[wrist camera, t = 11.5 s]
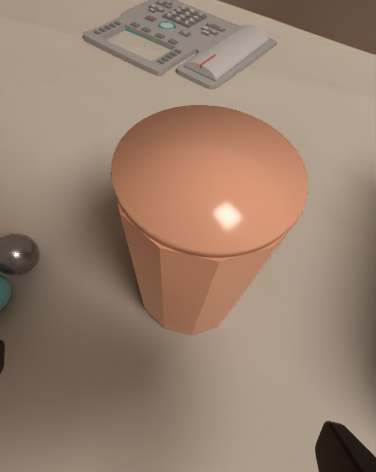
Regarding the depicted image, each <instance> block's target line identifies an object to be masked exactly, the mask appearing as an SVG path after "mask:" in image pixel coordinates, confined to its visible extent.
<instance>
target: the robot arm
mask: <svg viewBox="0 0 376 472" xmlns="http://www.w3.org/2000/svg"><path fill="white" fill-rule="evenodd" d="M4 354H5V343H4V341H2V340H0V373H1V372H2V370H3V367H4ZM315 453H316V459H317V464H318V469H319V472H376V457H375V456H374V455H373V454H372V453H371V452H370V451H369V450H368V449H367V448H366V447H365V446H364V445H363V444H362V443H361V442H360V441H359V440H358V439H357V438H356V437H355V436H354V435H353V434H352V433H351V432H350V431H349V430H348V429H347V428H346V427H345V426H344V425H342V424H340V423H336V422H331V421H326V422H325V423H324V425H323V427H322V430H321V432H320V435H319V437H318V440H317V442H316V447H315Z"/></svg>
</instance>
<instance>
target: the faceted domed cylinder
mask: <svg viewBox="0 0 376 472" xmlns="http://www.w3.org/2000/svg"><path fill="white" fill-rule="evenodd" d="M110 173H111V177H112V182H113V186H114V190H115V194H116V199H117V203H118V207H119V212H120V216H121V220H122V224H123V228H124V231H125V235H126V239H127V243H128V247H129V251H130V254H131V258H132V262H133V266H134V270H135V274H136V277H137V281H138V285H139V289H140V293H141V297H142V300H143V304H144V308H145V310H146V311H147V312H148V313H149V314H150V315H151V316H152V317H153V318H154V319H155V320H156V321H157V322H158V323H159V324H160V325H161V326H162V327H163V328H165V329H169V330H173V331H177V332H181V333H185V334H189V335H193V334H196V333H199V332H202V331H205V330H208V329H211V328H215V327H218V325H219V324H220V323H221V322H222V320H223V319H224V318H225V317H226V316H227V314H228V313H229V312H230V311H231V310H232V308H233V307H234V306H235V305H236V303H237V302H238V301H239V299H240V298H241V297H242V295H243V294H244V292H245V291H246V290H247V288H248V287H249V286H250V284H251V283H252V282H253V280H254V279H255V278H256V276H257V275H258V273H259V272H260V271H261V269H262V268H263V267H264V265H265V264H266V263H267V261H268V260H269V259H270V257H271V256H272V254H273V253H274V252H275V250H276V249H277V248H278V246H279V245H280V244H281V242H282V241H283V240H284V238H285V237H286V235H287V234H288V233H289V231H290V230H291V229H292V227H293V226H294V225H295V223H296V222H297V220H298V219H299V218H300V216H301V215H302V214H303V207H304V205H305V202H306V199H307V195H308V177H307V172H306V169H305V166H304V163H303V161H302V159H301V157H300V155H299V154H298V152H297V151H296V149H295V148H294V147H293V145H292V144H291V143H290V142H289V141H288V140H287V139H286V138H285V137H284V136H283V135H282V134H281V133H280V132H278V131H277V130H276V129H274V128H273V127H271V126H270V125H268V124H267V123H265V122H263V121H261V120H259V119H258V118H256V117H253V116H251V115H248V114H246V113H243V112H240V111H237V110H233V109H229V108H224V107H218V106H207V105H191V106H181V107H175V108H171V109H167V110H163V111H160V112H158V113H155V114H152V115H151V116H149V117H147V118H145V119H143V120H141V121H140V122H138V123H137V124H135V125H134V126H133V127H132V128H131V129H130V130H129V131H128V132H127V133H126V134H125V135H124V136H123V137H122V139H121V140H120V142H119V144H118V145H117V147H116V150H115V152H114V155H113V159H112V166H111V172H110Z"/></svg>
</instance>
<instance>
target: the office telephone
mask: <svg viewBox="0 0 376 472" xmlns="http://www.w3.org/2000/svg"><path fill="white" fill-rule="evenodd" d="M125 30H127V31H129V32H132V33H134V34H136V35H139V36H141V37H143V38H146V39H148V40H150V41H153V42H155V43H157V44H160V45H162V46H164V47H166V48H169V49H171V51H169V52H167V53H166V54H164V55H162V56H161V57H159V58H157V59H155V60H154V61H152V62H151V61H149V60H147V59H145V58H142V57H140V56H138V55H136V54H134V53H132V52H130V51H127V50H125V49H123V48H121V47H119V46H117V45H115V44H113V43H111V42H109V41H107V39H109V38H111V37H113V36H115V35H117V34H119V33H121V32H123V31H125ZM83 36H84V40H85V41H86V42H88V43H90V44H92V45H94V46H96V47H98V48H100V49H102V50H104V51H106V52H108V53H110V54H112V55H114V56H116V57H118V58H120V59H122V60H124V61H126V62H128V63H130V64H132V65H134V66H136V67H138V68H140V69H142V70H145V71H147V72H149V73H152V74H154V75H156V76H162V75H163V74H164V73H165V72H167V71H168V70H170V69H171V68H173V67H174V66H176V65H177V64H179V63H180V62H182V61H184V60H185V59H187V58H188V57H190V56H192V55H193V54H195V53H196V55H195V56H193V57H192V58H190V59H189V60H187V61H186V62H184V63H183V64H182V65H180V66H179V67H178V68H177V74H178V75H180V76H182V77H184V78H186V79H188V80H190V81H192V82H194V83H197V84H199V85H201V86H203V87H205V88H207V89H216V88H218V87H219V86H221V85H222V84H224V83H225V82H227V81H228V80H230V79H231V78H232V77H234V76H235V75H236V74H237V73H239V72H241V71H242V70H244V69H245V68H246V67H248V66H249V65H250V64H252V63H253V62H254V61H256V60H257V59H258V58H260V57H261V56H262V55H264V54H265V53H266V52H268V51H269V50H270V49H272V48H273V47H274V46H276V44H277V41H276V40H273V39H271V38H269V37H268V35H267V34H266V33H265V32H264V31H263V30H262V29H260V28H259V27H256V26H253V25H243V26H242V27H241V26H238V25H236V24H233V23H231V22H228V21H226V20H223V19H221V18H218V17H216V16H213V15H211V14H208V13H206V12H203V11H201V10H198V9H196V8H193V7H191V6H189V5H186V4H184V3H181V2H179V1H177V0H148V1H146V2H144V3H142V4H139V5H137V6H135V7H133V8H130V9H128V10H126V11H124V12H122V13H121V17H119V18H117V19H115V20H113V21H111V22H108V23H106V24H104V25H102V26H100V27H97V28H95V29H93V30H90V31H85V32H84V33H83Z"/></svg>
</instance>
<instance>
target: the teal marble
mask: <svg viewBox="0 0 376 472" xmlns="http://www.w3.org/2000/svg"><path fill="white" fill-rule="evenodd" d="M10 296H11V287H10V284H9V282H8V281H7V280H6V279H5V278H4V277H3V276H2V275H0V310H2V309H3V308H4V307H5V306H6V304H7V303H8V301H9V299H10Z"/></svg>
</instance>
